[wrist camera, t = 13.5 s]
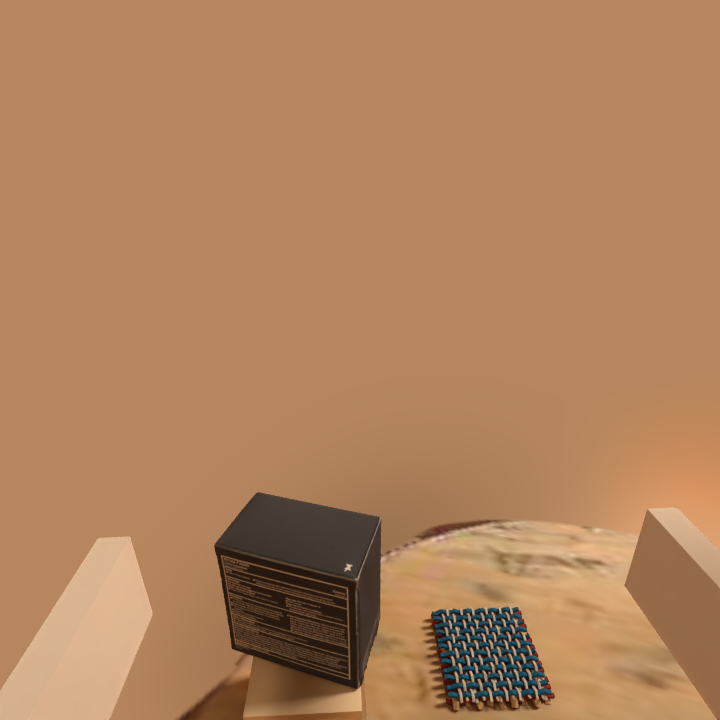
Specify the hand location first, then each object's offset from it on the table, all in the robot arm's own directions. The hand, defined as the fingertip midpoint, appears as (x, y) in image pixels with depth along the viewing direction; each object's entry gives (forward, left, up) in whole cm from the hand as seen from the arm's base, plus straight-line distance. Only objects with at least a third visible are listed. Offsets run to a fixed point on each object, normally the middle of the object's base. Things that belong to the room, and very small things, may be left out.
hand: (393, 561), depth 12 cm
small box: (+4, -16, -25) cm, 30 cm away
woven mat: (-14, -22, -39) cm, 47 cm away
